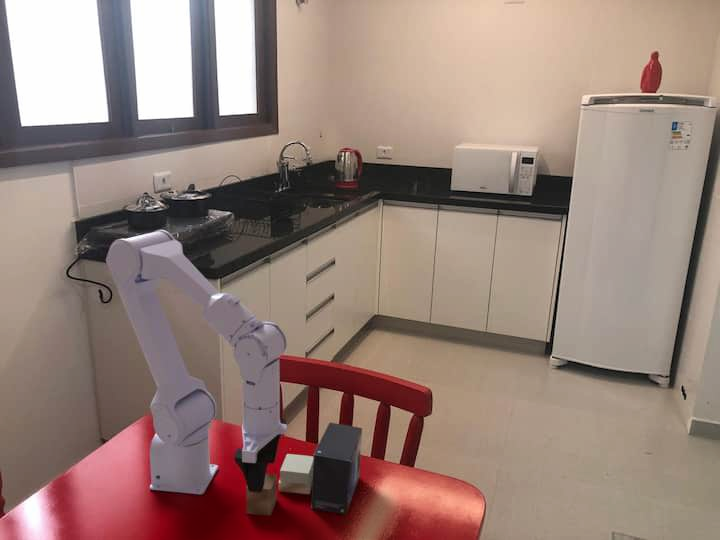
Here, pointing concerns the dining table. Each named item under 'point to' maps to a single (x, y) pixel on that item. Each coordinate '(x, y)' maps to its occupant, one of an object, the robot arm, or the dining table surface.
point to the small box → (336, 468)
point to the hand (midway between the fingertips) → (262, 475)
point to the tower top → (297, 469)
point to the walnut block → (263, 497)
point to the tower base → (296, 487)
